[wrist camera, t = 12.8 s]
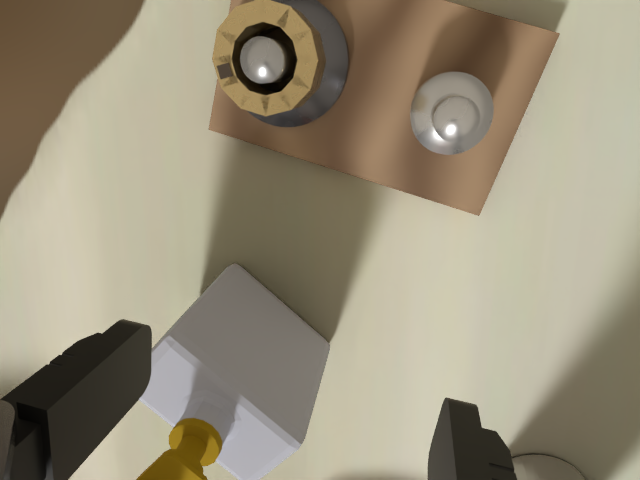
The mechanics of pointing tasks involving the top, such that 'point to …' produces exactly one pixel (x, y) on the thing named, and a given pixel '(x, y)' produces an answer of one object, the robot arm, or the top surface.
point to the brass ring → (248, 25)
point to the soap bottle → (234, 382)
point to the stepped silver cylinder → (451, 112)
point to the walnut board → (409, 97)
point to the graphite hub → (280, 63)
